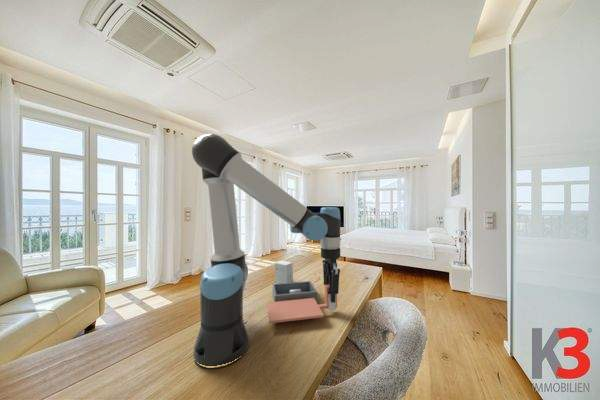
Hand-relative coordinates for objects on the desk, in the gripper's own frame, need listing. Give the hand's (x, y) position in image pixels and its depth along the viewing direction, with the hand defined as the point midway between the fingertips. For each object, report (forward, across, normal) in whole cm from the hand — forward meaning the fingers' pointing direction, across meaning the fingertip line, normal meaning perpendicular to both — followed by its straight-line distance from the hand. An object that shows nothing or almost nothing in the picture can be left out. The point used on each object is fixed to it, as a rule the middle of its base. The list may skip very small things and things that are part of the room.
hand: (330, 307), depth 81 cm
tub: (+2, +14, +12) cm, 19 cm away
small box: (+2, +34, +14) cm, 37 cm away
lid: (0, 0, +11) cm, 11 cm away
